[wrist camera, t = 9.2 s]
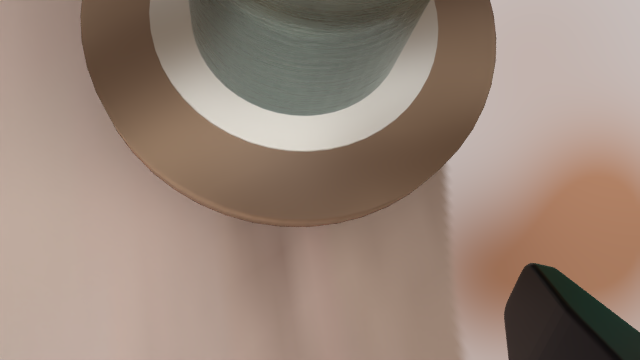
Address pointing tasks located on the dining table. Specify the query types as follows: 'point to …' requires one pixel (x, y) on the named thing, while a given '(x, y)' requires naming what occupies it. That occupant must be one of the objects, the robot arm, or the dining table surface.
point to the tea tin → (303, 48)
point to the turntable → (287, 130)
